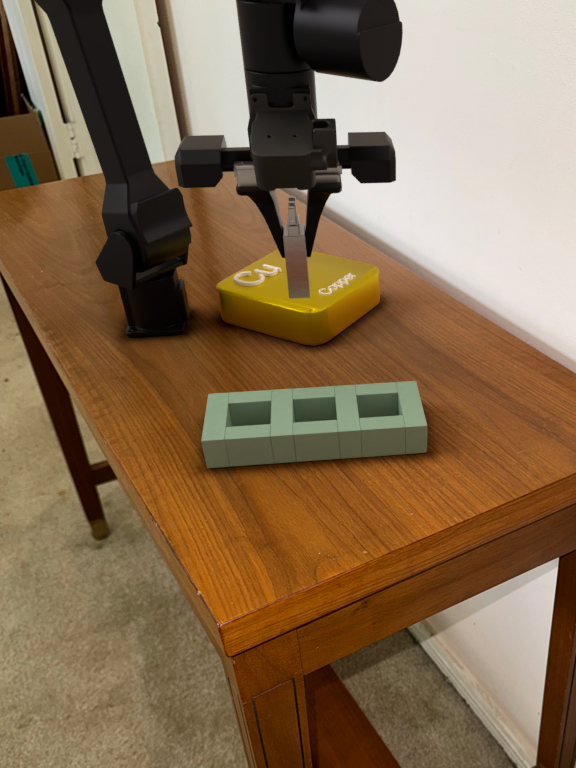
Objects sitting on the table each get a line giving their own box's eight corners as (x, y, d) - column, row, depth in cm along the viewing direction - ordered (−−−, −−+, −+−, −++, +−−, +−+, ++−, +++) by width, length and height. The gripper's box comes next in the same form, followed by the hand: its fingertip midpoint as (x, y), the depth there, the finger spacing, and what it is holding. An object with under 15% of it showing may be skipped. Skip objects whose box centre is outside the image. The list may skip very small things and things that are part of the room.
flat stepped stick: (289, 300, 73) (279, 209, 68) (289, 284, 76) (280, 195, 70) (309, 299, 74) (302, 208, 68) (309, 283, 76) (302, 195, 71)
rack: (207, 468, 68) (201, 440, 67) (213, 420, 74) (208, 393, 72) (426, 453, 70) (427, 425, 68) (416, 406, 76) (416, 380, 74)
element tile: (318, 350, 85) (315, 309, 82) (214, 321, 90) (207, 282, 87) (386, 300, 95) (385, 261, 92) (288, 276, 100) (284, 239, 97)
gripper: (147, 91, 55) (187, 296, 66) (402, 87, 57) (401, 288, 67) (167, 60, 64) (200, 247, 74) (389, 57, 65) (390, 241, 75)
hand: (296, 256), depth 72 cm, fingers closed on flat stepped stick, 2 cm apart
